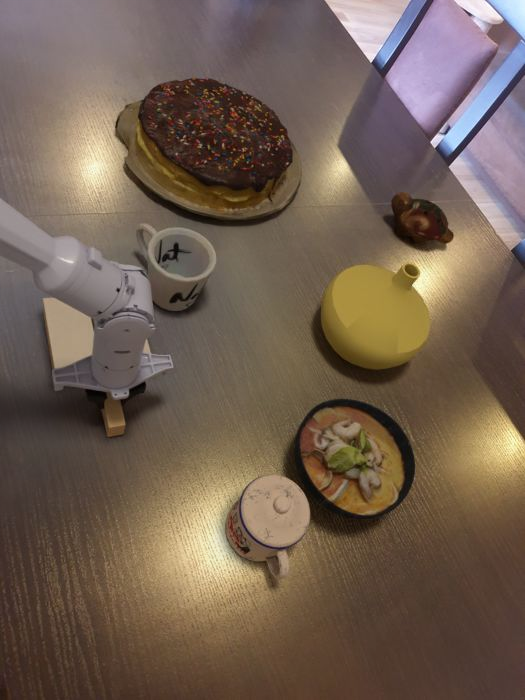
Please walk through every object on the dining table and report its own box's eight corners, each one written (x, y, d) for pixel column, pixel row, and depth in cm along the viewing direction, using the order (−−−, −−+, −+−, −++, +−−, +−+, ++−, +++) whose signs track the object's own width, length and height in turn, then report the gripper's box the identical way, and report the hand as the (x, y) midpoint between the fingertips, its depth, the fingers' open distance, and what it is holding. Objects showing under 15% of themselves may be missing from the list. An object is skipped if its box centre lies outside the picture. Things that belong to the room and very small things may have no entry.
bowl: (402, 519, 83) (439, 499, 75) (298, 546, 76) (326, 526, 68) (361, 414, 91) (391, 385, 83) (263, 430, 84) (285, 400, 76)
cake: (267, 103, 128) (279, 61, 120) (325, 222, 112) (344, 183, 103) (101, 96, 114) (103, 48, 106) (140, 231, 97) (145, 187, 89)
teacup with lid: (216, 501, 76) (238, 472, 67) (277, 490, 80) (306, 460, 70) (237, 594, 71) (264, 577, 61) (302, 578, 74) (337, 559, 65)
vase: (392, 403, 94) (458, 342, 78) (293, 355, 93) (340, 284, 77) (412, 324, 104) (473, 257, 89) (323, 280, 104) (369, 205, 88)
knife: (123, 434, 77) (125, 424, 74) (107, 437, 76) (108, 427, 74) (99, 322, 85) (100, 310, 82) (84, 323, 84) (85, 311, 82)
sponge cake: (55, 384, 78) (54, 368, 75) (43, 316, 83) (42, 298, 80) (147, 371, 84) (151, 356, 80) (131, 308, 88) (134, 290, 85)
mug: (170, 330, 88) (181, 292, 80) (107, 267, 91) (112, 224, 83) (216, 299, 94) (231, 260, 86) (156, 241, 97) (165, 198, 89)
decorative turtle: (378, 205, 120) (399, 176, 114) (440, 233, 123) (463, 207, 116) (376, 235, 114) (398, 206, 108) (441, 264, 117) (465, 237, 110)
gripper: (57, 389, 62) (58, 437, 73) (185, 371, 67) (168, 418, 78) (48, 334, 65) (50, 389, 76) (171, 322, 71) (157, 374, 81)
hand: (109, 401), depth 77 cm, fingers closed on knife, 2 cm apart
